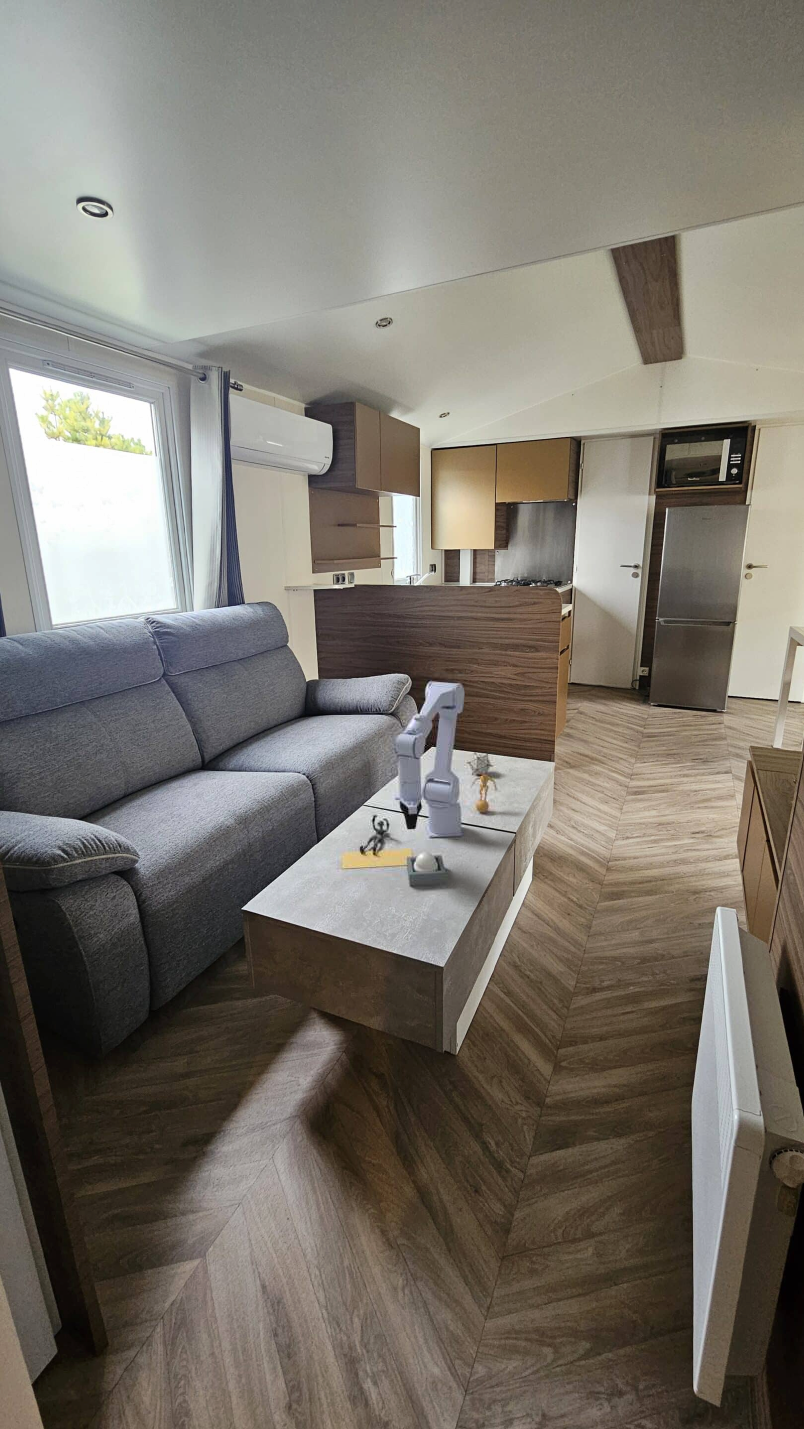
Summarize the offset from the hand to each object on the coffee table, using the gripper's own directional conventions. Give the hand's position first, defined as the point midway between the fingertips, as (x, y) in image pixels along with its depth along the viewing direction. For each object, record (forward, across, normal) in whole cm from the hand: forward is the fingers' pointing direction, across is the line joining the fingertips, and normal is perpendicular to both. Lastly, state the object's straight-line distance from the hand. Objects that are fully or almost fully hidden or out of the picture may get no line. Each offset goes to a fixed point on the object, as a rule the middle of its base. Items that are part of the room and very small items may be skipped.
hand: (411, 828), depth 161 cm
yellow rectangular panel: (+10, -3, -9) cm, 14 cm away
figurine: (+10, -30, +25) cm, 40 cm away
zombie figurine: (+10, -12, -9) cm, 18 cm away
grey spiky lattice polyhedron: (+10, -62, +31) cm, 70 cm away
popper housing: (+10, +8, +3) cm, 13 cm away
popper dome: (+8, +8, +3) cm, 12 cm away
